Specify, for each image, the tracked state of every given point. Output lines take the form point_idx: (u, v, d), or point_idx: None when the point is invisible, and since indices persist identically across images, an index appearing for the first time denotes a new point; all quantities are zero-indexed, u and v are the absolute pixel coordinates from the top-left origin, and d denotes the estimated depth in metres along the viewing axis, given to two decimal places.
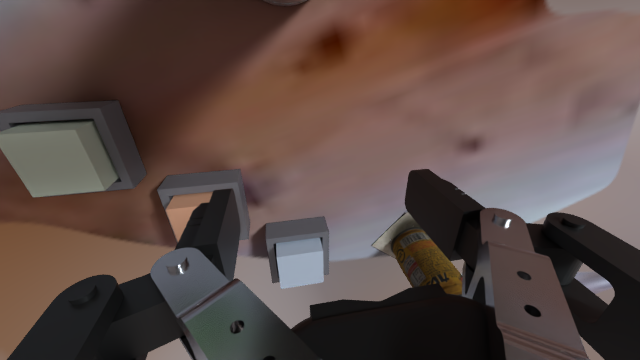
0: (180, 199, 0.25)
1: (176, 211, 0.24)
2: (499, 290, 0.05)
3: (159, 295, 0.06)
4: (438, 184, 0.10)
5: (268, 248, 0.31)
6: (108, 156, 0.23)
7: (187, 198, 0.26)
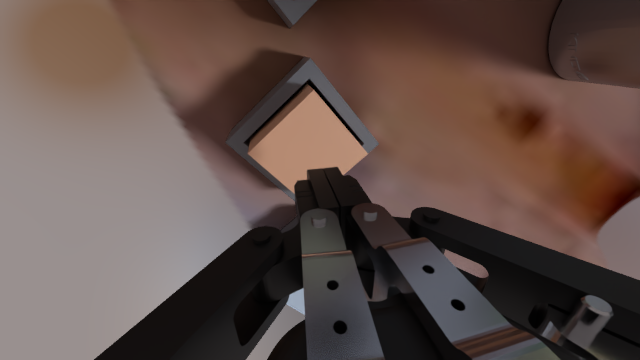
0: None
1: (320, 105, 0.15)
2: (426, 298, 0.05)
3: (300, 236, 0.08)
4: (336, 181, 0.11)
5: None
6: None
7: None
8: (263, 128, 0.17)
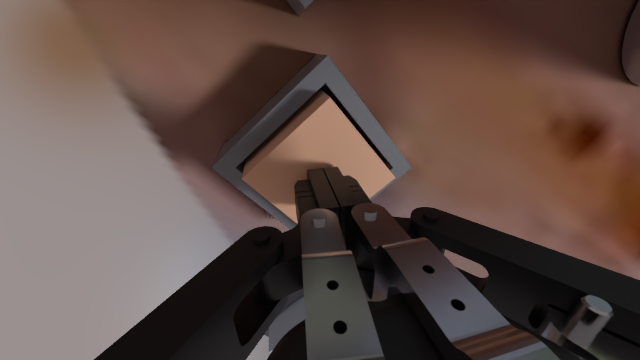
0: None
1: (337, 117, 0.11)
2: (426, 298, 0.05)
3: (300, 235, 0.08)
4: (336, 181, 0.11)
5: None
6: None
7: None
8: (262, 144, 0.14)
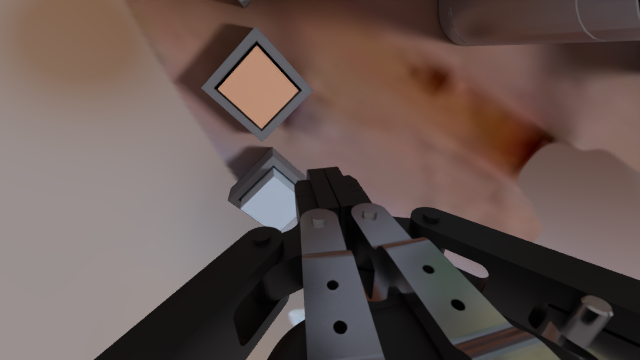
0: None
1: (261, 55, 0.24)
2: (426, 298, 0.05)
3: (300, 235, 0.08)
4: (336, 181, 0.11)
5: (264, 165, 0.29)
6: None
7: None
8: None
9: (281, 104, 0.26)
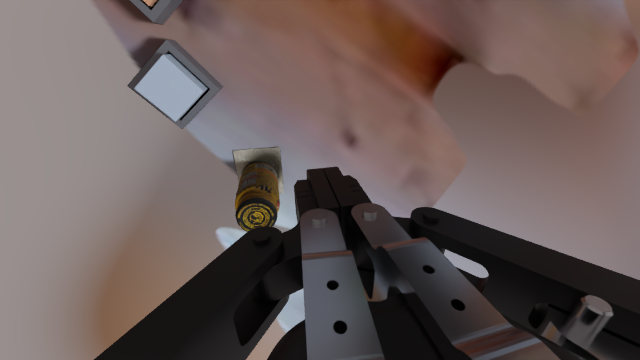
0: None
1: None
2: (426, 299, 0.05)
3: (300, 235, 0.08)
4: (336, 181, 0.11)
5: (159, 49, 0.30)
6: None
7: None
8: None
9: None
